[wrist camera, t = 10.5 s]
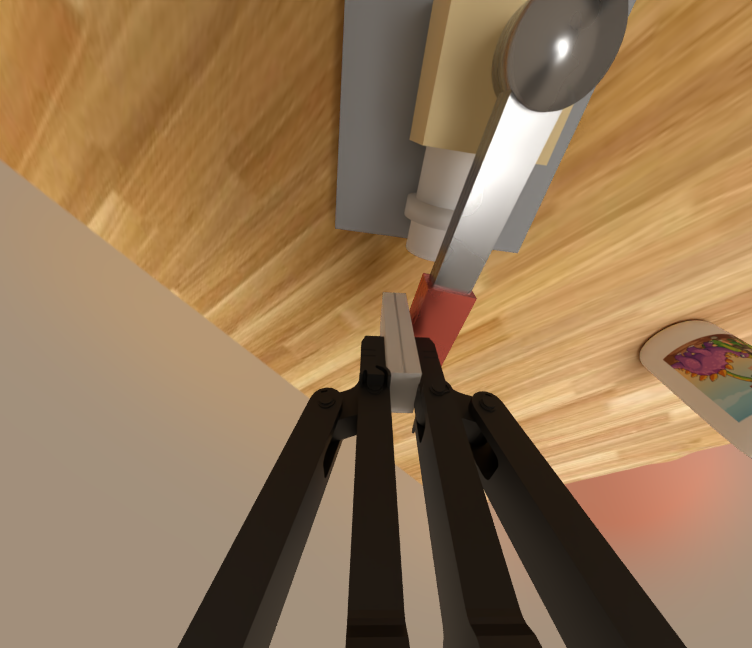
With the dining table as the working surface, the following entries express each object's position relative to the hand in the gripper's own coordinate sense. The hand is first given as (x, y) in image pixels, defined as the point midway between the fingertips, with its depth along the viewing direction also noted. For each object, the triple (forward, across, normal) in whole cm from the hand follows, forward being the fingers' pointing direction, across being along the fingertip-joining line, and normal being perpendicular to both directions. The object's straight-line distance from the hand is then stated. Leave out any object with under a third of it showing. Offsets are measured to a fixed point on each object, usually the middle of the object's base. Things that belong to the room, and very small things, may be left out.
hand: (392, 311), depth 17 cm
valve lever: (-1, +3, +5) cm, 6 cm away
